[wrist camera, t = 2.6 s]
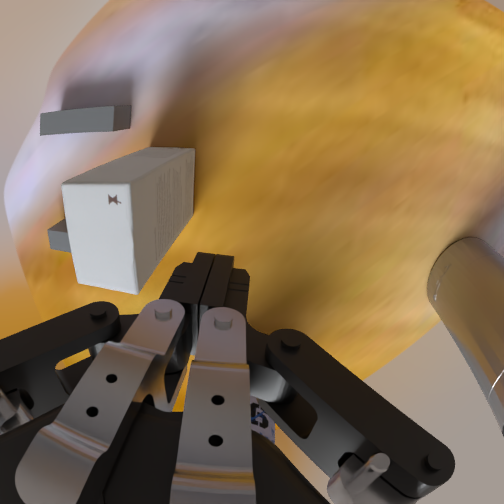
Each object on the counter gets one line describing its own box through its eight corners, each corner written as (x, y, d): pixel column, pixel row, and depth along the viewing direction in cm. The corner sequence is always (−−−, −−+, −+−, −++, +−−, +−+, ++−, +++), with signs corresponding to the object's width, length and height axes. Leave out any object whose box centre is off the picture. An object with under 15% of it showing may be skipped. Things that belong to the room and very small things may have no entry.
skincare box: (147, 146, 23) (58, 179, 12) (196, 147, 23) (131, 180, 12) (148, 214, 25) (75, 285, 15) (194, 218, 25) (141, 297, 15)
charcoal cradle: (131, 105, 21) (114, 105, 18) (130, 246, 27) (117, 260, 24) (60, 111, 21) (40, 113, 18) (66, 236, 27) (50, 248, 24)
